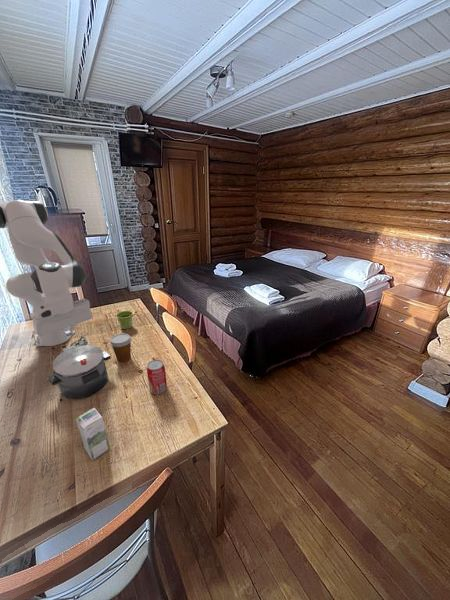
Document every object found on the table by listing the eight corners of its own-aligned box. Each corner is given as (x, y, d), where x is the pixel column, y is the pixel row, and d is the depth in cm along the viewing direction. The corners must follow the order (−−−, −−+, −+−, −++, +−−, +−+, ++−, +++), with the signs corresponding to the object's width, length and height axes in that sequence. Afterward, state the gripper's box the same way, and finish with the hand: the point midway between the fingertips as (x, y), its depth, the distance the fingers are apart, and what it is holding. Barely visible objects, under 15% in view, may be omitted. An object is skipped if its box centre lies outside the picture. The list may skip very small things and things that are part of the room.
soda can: (170, 387, 109) (168, 362, 103) (158, 398, 103) (155, 372, 98) (158, 381, 112) (155, 356, 107) (145, 391, 106) (142, 366, 101)
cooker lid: (45, 360, 106) (43, 353, 104) (90, 342, 118) (88, 335, 116) (64, 384, 94) (61, 376, 92) (111, 361, 106) (110, 354, 105)
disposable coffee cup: (125, 366, 121) (121, 345, 116) (109, 362, 124) (104, 341, 119) (138, 355, 129) (135, 334, 124) (122, 351, 132) (118, 331, 127)
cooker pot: (48, 387, 108) (41, 366, 103) (102, 362, 123) (97, 343, 119) (65, 412, 96) (58, 390, 92) (122, 381, 112) (118, 360, 107)
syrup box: (102, 438, 86) (93, 406, 81) (110, 449, 83) (102, 416, 77) (84, 450, 83) (74, 417, 77) (92, 462, 79) (82, 428, 73)
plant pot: (114, 329, 152) (112, 316, 148) (124, 322, 160) (122, 309, 157) (128, 332, 150) (126, 318, 146) (137, 324, 158) (136, 311, 154)
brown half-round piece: (79, 369, 119) (74, 351, 115) (67, 367, 120) (62, 349, 116) (96, 353, 130) (92, 336, 126) (85, 352, 131) (81, 335, 127)
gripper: (85, 295, 108) (91, 323, 113) (27, 311, 94) (37, 342, 99) (91, 299, 104) (97, 328, 110) (32, 316, 90) (43, 349, 96)
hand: (68, 335), depth 104 cm, fingers closed
